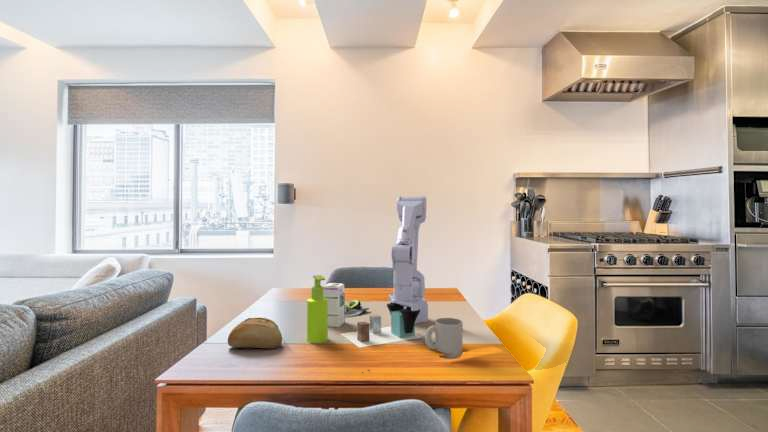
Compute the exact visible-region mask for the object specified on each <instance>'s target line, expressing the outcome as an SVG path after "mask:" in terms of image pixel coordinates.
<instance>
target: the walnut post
mask: <svg viewBox="0 0 768 432" xmlns="http://www.w3.org/2000/svg"><path fill="white" fill-rule="evenodd" d="M369 329H370V322H367V321H359V322H357V330H356V331H357V340H358V341H360V342H367V341H369Z"/></svg>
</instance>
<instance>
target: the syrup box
mask: <svg viewBox="0 0 768 432" xmlns="http://www.w3.org/2000/svg"><path fill="white" fill-rule="evenodd" d="M322 287H323V298H327V299H328V327H337V328H339V327H341V326H342V325H344V324H345V323H346V318H345V305H346V302H345V300H346V298H345V295H346V294H345V293H346V292H345V283H341V282H339V283H338V282H329V283H327V284H325V285H323V286H322Z"/></svg>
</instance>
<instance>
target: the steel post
mask: <svg viewBox="0 0 768 432" xmlns="http://www.w3.org/2000/svg"><path fill="white" fill-rule="evenodd" d="M381 328H382V316H381V315H379V314H373V315H372V314H370V315H369V329H370V332H371V333H372V334H377V333H381Z"/></svg>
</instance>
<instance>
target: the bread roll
mask: <svg viewBox="0 0 768 432" xmlns="http://www.w3.org/2000/svg"><path fill="white" fill-rule="evenodd" d="M282 343H283V335H282V332H281V330H280V328H279V326H278V324H277V323H276V322H275V321H273V320H272V319H269V318H267V317H247V319H245V320H243V321H241V322H239V323H238V324H236V326H235V327H234V328H232V330H231V331H230V333H229V334H228V337H227V344H228V346H229V347H231V348H244V349H245V348H247V349H249V348H250V349H251V348H252V349H253V348H254V349H276V348H278V347H279V346H281V345H282Z"/></svg>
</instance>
